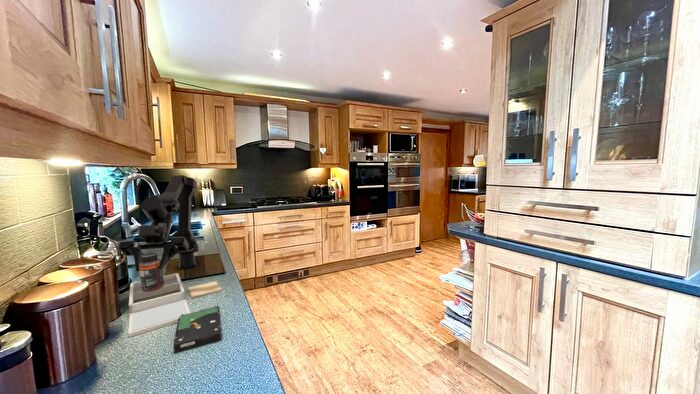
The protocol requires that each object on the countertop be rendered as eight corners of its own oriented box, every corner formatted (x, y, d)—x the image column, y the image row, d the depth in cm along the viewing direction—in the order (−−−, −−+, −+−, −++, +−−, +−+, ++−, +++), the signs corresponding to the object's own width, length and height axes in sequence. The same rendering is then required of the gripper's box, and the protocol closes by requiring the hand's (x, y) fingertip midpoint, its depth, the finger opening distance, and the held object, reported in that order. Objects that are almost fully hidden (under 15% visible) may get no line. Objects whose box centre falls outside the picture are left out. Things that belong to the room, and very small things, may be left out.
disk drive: (223, 342, 69) (219, 313, 82) (222, 331, 68) (218, 304, 81) (174, 356, 64) (178, 323, 77) (172, 345, 64) (177, 314, 77)
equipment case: (131, 292, 96) (130, 283, 95) (178, 282, 104) (177, 273, 104) (128, 337, 70) (127, 324, 70) (191, 318, 79) (190, 306, 78)
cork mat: (188, 289, 98) (188, 287, 98) (216, 282, 103) (215, 280, 103) (192, 298, 91) (192, 296, 90) (221, 290, 96) (221, 289, 96)
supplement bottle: (162, 282, 93) (158, 250, 91) (166, 288, 88) (162, 254, 87) (140, 288, 89) (136, 254, 87) (143, 294, 84) (139, 258, 83)
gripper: (117, 216, 87) (99, 261, 78) (183, 212, 92) (173, 255, 82) (132, 234, 96) (118, 277, 86) (192, 230, 100) (184, 270, 91)
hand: (148, 270), depth 86 cm, fingers closed on supplement bottle, 6 cm apart
